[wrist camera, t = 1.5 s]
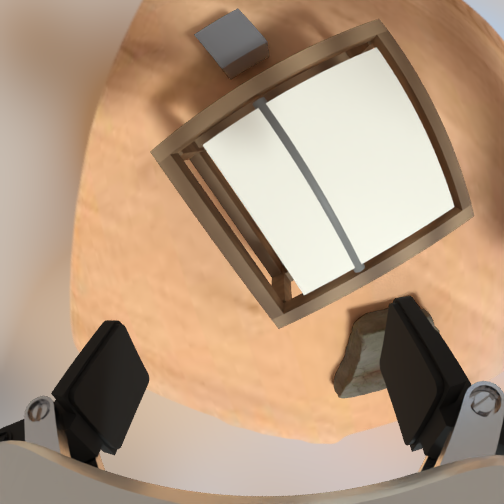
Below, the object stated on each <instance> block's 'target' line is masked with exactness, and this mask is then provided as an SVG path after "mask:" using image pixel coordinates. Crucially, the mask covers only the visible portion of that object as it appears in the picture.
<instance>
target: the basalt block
mask: <svg viewBox="0 0 504 504" xmlns="http://www.w3.org/2000/svg"><path fill="white" fill-rule="evenodd" d="M194 35H195V37H196V38H197V39H198V40H199V41H200V42H201V44H202V45H203V46H204V47H205V49H206V50H207V51H208V52H209V53H210V55H211V56H212V57H213V58H214V60H215V61H216V62H217V63H218V65H219V66H220V67H221V68H222V70H223V71H224V72H225V73H226V75H227V76H228V77H229V78H230V79H232V78H234V77H235V76H237V75H238V74H240V73H242V72H243V71H245V70H247V69H248V68H250V67H252V66H253V65H255V64H257V63H258V62H260V61H262V60H264V59H265V58H267V57H269V50H268V42H267V40H266V39H265V38H264V37H263V36H262V35H261V33H260V32H259V31H258V30H257V29H256V28H255V26H254V25H253V24H252V23H251V22H250V21H249V20H248V19H247V18H246V17H245V15H244V14H243V13H242V12H241V11H240V10H239V9H236V10H234V11H232V12H230V13H229V14H227V15H225V16H223V17H222V18H220V19H218V20H216V21H215V22H213V23H212V24H210V25H208V26H207V27H205V28H204V29H202V30H200V31H199V32H197V33H196V34H194Z"/></svg>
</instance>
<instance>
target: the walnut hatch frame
mask: <svg viewBox="0 0 504 504" xmlns="http://www.w3.org/2000/svg"><path fill="white" fill-rule="evenodd" d="M374 47H375V48H376V47H377V49H378V50H379V51H380V53H381V54H382V56H383V57H384V59H385V60H386V62H387V63H388V65H389V66H390V68H391V69H392V71H393V73H394V74H395V76H396V77H397V79H398V81H399V82H400V84H401V86H402V87H403V89H404V91H405V93H406V94H407V96H408V98H409V100H410V102H411V103H412V105H413V107H414V109H415V111H416V113H417V115H418V117H419V119H420V121H421V123H422V125H423V127H424V129H425V131H426V133H427V136H428V138H429V140H430V142H431V145H432V147H433V149H434V152H435V154H436V156H437V159H438V161H439V164H440V166H441V169H442V172H443V174H444V177H445V180H446V183H447V185H448V188H449V191H450V194H451V197H452V201H453V204H454V208H452V209H451V210H449V211H448V212H446V213H445V214H443V215H441V216H440V217H438V218H437V219H435V220H434V221H432V222H431V223H429V224H428V225H426V226H424V227H423V228H421V229H420V230H418V231H416V232H415V233H413V234H412V235H410V236H408V237H407V238H405V239H403V240H402V241H400V242H399V243H397V244H395V245H394V246H392V247H390V248H389V249H387V250H385V251H383V252H382V253H380V254H378V255H377V256H375V257H373V258H371V259H370V260H368V261H366V262H364V265H365V268H364V269H363V270H362V271H361V272H358V273H355V272H354V270H353V269H352V270H350V271H349V272H347V273H345V274H343V275H341V276H339V277H338V278H336V279H334V280H332V281H330V282H328V283H327V284H325V285H323V286H321V287H319V288H317V289H315V290H313V291H311V292H309V293H308V294H306V295H303V293H302V294H300V295H298V296H296V297H294V298H292V294H291V281H293V280H294V279H293V278H292V276H291V275H290V273H289V272H288V270H287V269H286V267H285V266H284V264H283V263H282V261H281V260H280V259H279V257H278V256H277V254H276V253H275V251H274V250H273V248H272V247H271V245H270V244H269V242H268V241H267V239H266V238H265V236H264V235H263V233H262V232H261V230H260V229H259V227H258V226H257V224H256V223H255V222H254V220H253V219H252V217H251V216H250V214H249V213H248V211H247V210H246V208H245V207H244V205H243V204H242V202H241V201H240V199H239V198H238V197H237V195H236V194H235V192H234V191H233V189H232V188H231V186H230V185H229V183H228V182H227V180H226V179H225V178H224V176H223V175H222V173H221V172H220V170H219V169H218V167H217V166H216V165H215V163H214V162H213V160H212V159H211V157H210V156H209V155H208V153H207V152H206V149H205V148H204V147H203V144H205V143H206V142H208V141H209V140H210V139H212V138H213V137H215V136H216V135H218V134H219V133H220V132H222V131H223V130H225V129H226V128H228V127H229V126H231V125H232V124H234V123H235V122H237V121H238V120H240V119H241V118H243V117H245V116H246V115H248V114H249V113H251V112H252V111H254V110H256V109H255V108H254V106H253V105H252V104H253V103H254V102H255V101H257V100H258V99H260V98H262V97H265V99H266V100H267V102H269V101H270V100H272V99H274V98H276V97H277V96H279V95H281V94H282V93H284V92H286V91H288V90H290V89H291V88H293V87H295V86H297V85H299V84H300V83H302V82H304V81H306V80H308V79H310V78H312V77H314V76H316V75H317V74H319V73H321V72H323V71H325V70H327V69H329V68H332V67H334V66H336V65H338V64H340V63H342V62H344V61H346V60H349V59H351V58H353V57H355V56H357V55H360V54H362V53H364V52H367V51H369V50H372V49H373V48H374ZM150 152H151V154H152V155H153V157H154V158H155V159H156V161H157V162H158V164H159V165H160V167H161V168H162V170H163V171H164V172H165V174H166V175H167V177H168V178H169V180H170V181H171V183H172V184H173V185H174V187H175V188H176V190H177V191H178V193H179V194H180V195H181V197H182V198H183V200H184V201H185V202H186V204H187V205H188V207H189V208H190V209H191V211H192V212H193V214H194V215H195V216H196V218H197V219H198V221H199V222H200V223H201V225H202V226H203V228H204V229H205V230H206V232H207V233H208V235H209V236H210V237H211V239H212V240H213V241H214V243H215V244H216V246H217V247H218V248H219V250H220V251H221V252H222V254H223V255H224V257H225V258H226V259H227V261H228V262H229V263H230V265H231V266H232V267H233V269H234V270H235V272H236V273H237V274H238V276H239V277H240V278H241V280H242V281H243V282H244V284H245V285H246V286H247V288H248V289H249V290H250V292H251V293H252V294H253V296H254V297H255V298H256V300H257V301H258V302H259V304H260V305H261V306H262V308H263V309H264V310H265V312H266V313H267V314H268V316H269V317H270V318H271V319H272V321H273V322H274V323H275V325H276V326H277V327H278V329H280V328H282V327H284V326H286V325H288V324H291V323H293V322H295V321H297V320H299V319H301V318H303V317H305V316H307V315H309V314H311V313H313V312H315V311H317V310H319V309H321V308H323V307H325V306H327V305H329V304H331V303H333V302H335V301H337V300H339V299H340V298H342V297H344V296H346V295H348V294H350V293H352V292H353V291H355V290H357V289H359V288H361V287H363V286H364V285H366V284H368V283H370V282H372V281H373V280H375V279H377V278H379V277H380V276H382V275H384V274H386V273H387V272H389V271H391V270H392V269H394V268H396V267H397V266H399V265H401V264H402V263H404V262H406V261H407V260H409V259H411V258H412V257H414V256H415V255H417V254H419V253H420V252H422V251H423V250H425V249H427V248H428V247H430V246H431V245H433V244H434V243H436V242H437V241H439V240H440V239H442V238H443V237H445V236H446V235H448V234H449V233H451V232H452V231H454V230H455V229H457V228H458V227H460V226H461V225H462V224H464V223H465V222H467V221H468V220H469V219H471V218H472V217H474V212H473V208H472V205H471V201H470V197H469V194H468V190H467V187H466V184H465V181H464V178H463V174H462V171H461V169H460V166H459V163H458V160H457V157H456V155H455V152H454V149H453V147H452V144H451V142H450V139H449V137H448V135H447V132H446V130H445V128H444V125H443V123H442V121H441V119H440V117H439V115H438V113H437V110H436V108H435V106H434V104H433V102H432V100H431V99H430V97H429V95H428V93H427V91H426V89H425V87H424V85H423V84H422V82H421V80H420V78H419V77H418V75H417V73H416V72H415V70H414V68H413V67H412V65H411V63H410V62H409V60H408V59H407V57H406V56H405V54H404V53H403V51H402V50H401V48H400V47H399V45H398V44H397V42H396V41H395V39H394V38H393V37H392V35H391V34H390V32H389V31H388V30H387V28H386V27H385V26H384V24H383V23H382V22H381V21H380V19H377V20H374V21H371V22H368V23H365V24H363V25H360V26H357V27H355V28H352V29H350V30H347V31H345V32H342V33H340V34H337V35H335V36H333V37H330V38H328V39H326V40H324V41H321V42H319V43H317V44H315V45H313V46H311V47H309V48H306V49H304V50H302V51H300V52H298V53H296V54H294V55H292V56H291V57H289V58H287V59H285V60H283V61H281V62H279V63H277V64H276V65H274V66H272V67H270V68H268V69H267V70H265V71H263V72H262V73H260V74H258V75H256V76H255V77H253V78H251V79H250V80H248V81H246V82H245V83H243V84H242V85H240V86H238V87H237V88H235V89H234V90H232V91H231V92H229V93H228V94H226V95H225V96H223V97H222V98H220V99H219V100H217V101H216V102H214V103H213V104H211V105H210V106H208V107H207V108H206V109H204V110H203V111H201V112H200V113H199V114H197V115H196V116H195V117H193V118H192V119H191V120H189V121H188V122H187V123H185V124H184V125H183V126H181V127H180V128H179V129H177V130H176V131H175V132H174V133H172V134H171V135H170V136H169V137H167V138H166V139H165V140H164V141H162V142H161V143H160V144H159V145H158V146H156V147H155V148H154V149H153V150H152V151H150ZM189 159H190V161H191V162H192V164H193V165H194V166H195V168H196V169H197V171H198V172H199V174H200V175H201V176H202V178H203V179H204V181H205V182H206V184H207V185H208V186H209V188H210V189H211V191H212V192H213V194H214V195H215V196H216V198H217V199H218V201H219V202H220V204H221V205H222V207H223V208H224V209H225V211H226V212H227V214H228V215H229V217H230V218H231V219H232V221H233V222H234V224H235V225H236V227H237V228H238V229H239V231H240V232H241V234H242V235H243V237H244V238H245V240H246V241H247V242H248V244H249V245H250V247H251V248H252V250H253V251H254V252H255V254H256V255H257V257H258V258H259V260H260V261H261V263H262V264H263V265H264V267H265V268H266V270H267V271H268V273H269V274H270V276H271V277H272V286H271V285H270V283H269V282H268V280H267V279H266V278H265V276H264V275H263V273H262V272H261V270H260V269H259V268H258V266H257V265H256V263H255V262H254V261H253V259H252V258H251V256H250V255H249V253H248V252H247V251H246V249H245V248H244V246H243V245H242V243H241V242H240V241H239V239H238V238H237V236H236V235H235V233H234V232H233V231H232V229H231V228H230V226H229V225H228V224H227V222H226V221H225V219H224V218H223V216H222V215H221V214H220V212H219V211H218V209H217V208H216V206H215V205H214V204H213V202H212V201H211V199H210V198H209V196H208V195H207V194H206V192H205V191H204V189H203V188H202V186H201V185H200V184H199V182H198V181H197V179H196V178H195V176H194V175H193V174H192V172H191V171H190V169H189V168H188V166H187V165H186V164H185V162H184V161H185V160H189Z"/></svg>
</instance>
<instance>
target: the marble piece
mask: <svg viewBox="0 0 504 504" xmlns="http://www.w3.org/2000/svg"><path fill="white" fill-rule="evenodd" d="M421 310H422V312H423V313H424V314H425V316H426V317H427V319H428V320H429V322H430V323H431V324H432V326H433V327H434V329H435V330H437V331H438V332H439V330H438V329H437V328H436V327H435V326H434V322H433V319H432V317H431V315H430V314H429V313H428V312H427V311H426V310H424V309H421ZM387 314H388V308H387V309H384V310H379V311H374V312H370V313H366V314H365V315H364V316H362V317H360V319H359V320H357V321H356V322H355V323H354V326H353V328H352V333H351V335H350V338H349V343H348V346H347V347H346V354H345V357H344V359H343V361H342V362H341V364H340V367H339V369H338V371H337V372H336V374H335V378H334V389H335V392H336V393H337V394H338V397H340V398H350V397H356V396H359V395H365V394H367V393H372V392H376V391H380V390H383V389H386V388H387V387H386V384H385V382H384V379H383V376H382V373H381V370H380V356H381V351H382V346H383V340H384V334H385V328H386V321H387Z"/></svg>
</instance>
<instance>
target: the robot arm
mask: <svg viewBox="0 0 504 504" xmlns="http://www.w3.org/2000/svg"><path fill="white" fill-rule="evenodd" d="M380 370H381V373H382V376H383V379H384V382H385V384H386V387H387V390H388V393H389V396H390V399H391V402H392V405H393V408H394V411H395V414H396V417H397V420H398V423H399V426H400V430H401V433H402V436H403V439H404V442H405V444H406V445H410V447H411V450H412V452H413V451H416V450H419V449H422V448H423V451H424V454H425V455H426V457H425V459H424V461H423V463H422V465H421V467H420V469H419V471H418V473H415V474H411V475H408V476H405V477H401V478H397V479H393V480H390V481H386V482H381V483H377V484H372V485H368V486H363V487H357V488H352V489H346V490H341V491H334V492H326V493H318V494H308V495H295V496H264V497H263V496H232V495H219V494H208V493H201V492H193V491H186V490H180V489H174V488H169V487H164V486H159V485H155V484H150V483H146V482H142V481H138V480H134V479H131V478H127V477H123V476H120V475H116V474H114V473H111V472H107V471H105V468H104V465H103V463H102V460H101V457H100V454H99V452H100V450H102V451H103V452H106V453H109V454H112V455H115V454H116V451H117V449H119V448H121V446H122V444H123V441H124V439H125V436H126V434H127V431H128V429H129V427H130V424H131V422H132V420H133V417H134V415H135V413H136V410H137V408H138V406H139V404H140V401H141V399H142V397H143V394H144V392H145V390H146V388H147V386H148V383H149V375H148V372H147V371H146V369H145V367H144V365H143V363H142V361H141V359H140V357H139V355H138V353H137V351H136V349H135V347H134V345H133V342H132V340H131V338H130V336H129V334H128V332H127V329H126V327H125V326H124V325H122V323H121V322H120V321H110V320H107V321H104V322H103V323H102V325H101V326H100V327H99V328H98V330H97V331H96V332H95V334H94V335H93V336H92V338H91V339H90V340H89V341H88V343H87V344H86V345H85V347H84V348H83V349H82V351H81V352H80V353H79V355H78V356H77V357H76V359H75V360H74V362H73V363H72V364H71V366H70V367H69V369H68V370H67V371H66V373H65V374H64V376H63V377H62V378H61V380H60V381H59V383H58V384H57V386H56V387H55V388H54V390H53V391H52V393H51V394H52V395H53V396H54V397H55V399H56V400H55V402H53V401H52V399H51V398H50V397H48V396H40V397H37V398H35V399H34V400H32V401H31V402H30V403H29V405H28V406H27V408H26V410H25V416H24V417H25V418H24V419H23V420H20V421H18V422H16V423H13V424H11V425H8V426H6V427H3V428H1V429H0V504H504V393H503V391H502V390H501V389H500V388H499V387H498V386H497V385H496V384H494V383H491V382H487V381H481V382H477V383H475V384H473V385H471V383H470V381H469V380H468V378H467V376H466V375H465V373H464V371H463V370H462V368H461V366H460V365H459V363H458V361H457V360H456V358H455V357H454V355H453V353H452V352H451V350H450V349H449V347H448V346H447V344H446V343H445V341H444V340H443V338H442V337H441V335H440V334H439V332H438V331H437V330H435V329H434V327H433V326H432V324H431V323H430V322H429V320H428V319H427V317H426V316H425V314H424V313H423V312H422V310H421V309H420V307H419V306H418V305H417V303H416V302H415V300H414V299H413V298H412V297H411V296H406V297H400V298H395V299H394V301H393V303H391V304H389V307H388V314H387V321H386V328H385V334H384V340H383V346H382V351H381V356H380Z"/></svg>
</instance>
